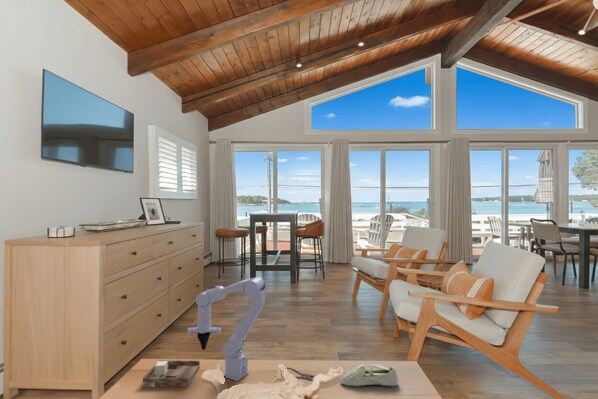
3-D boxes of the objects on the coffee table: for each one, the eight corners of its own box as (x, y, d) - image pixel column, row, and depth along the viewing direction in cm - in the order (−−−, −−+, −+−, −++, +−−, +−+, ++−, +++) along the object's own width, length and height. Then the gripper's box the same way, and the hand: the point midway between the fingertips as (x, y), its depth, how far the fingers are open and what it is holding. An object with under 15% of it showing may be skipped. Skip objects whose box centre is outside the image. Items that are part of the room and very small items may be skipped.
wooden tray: (199, 368, 150) (199, 360, 150) (188, 387, 134) (188, 378, 134) (158, 368, 150) (159, 360, 150) (142, 387, 134) (142, 378, 134)
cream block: (167, 370, 144) (167, 360, 144) (164, 374, 140) (164, 365, 140) (158, 370, 144) (158, 361, 144) (154, 375, 140) (155, 365, 140)
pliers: (279, 366, 152) (322, 369, 149) (279, 368, 152) (322, 371, 149) (274, 377, 142) (320, 380, 139) (274, 379, 142) (320, 382, 139)
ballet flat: (338, 377, 144) (338, 359, 144) (394, 378, 143) (394, 359, 144) (340, 388, 135) (341, 369, 135) (400, 389, 135) (400, 369, 135)
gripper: (185, 321, 145) (185, 352, 145) (218, 321, 145) (217, 352, 145) (190, 316, 152) (190, 345, 152) (222, 316, 152) (221, 346, 152)
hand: (204, 348), depth 149 cm, fingers closed
